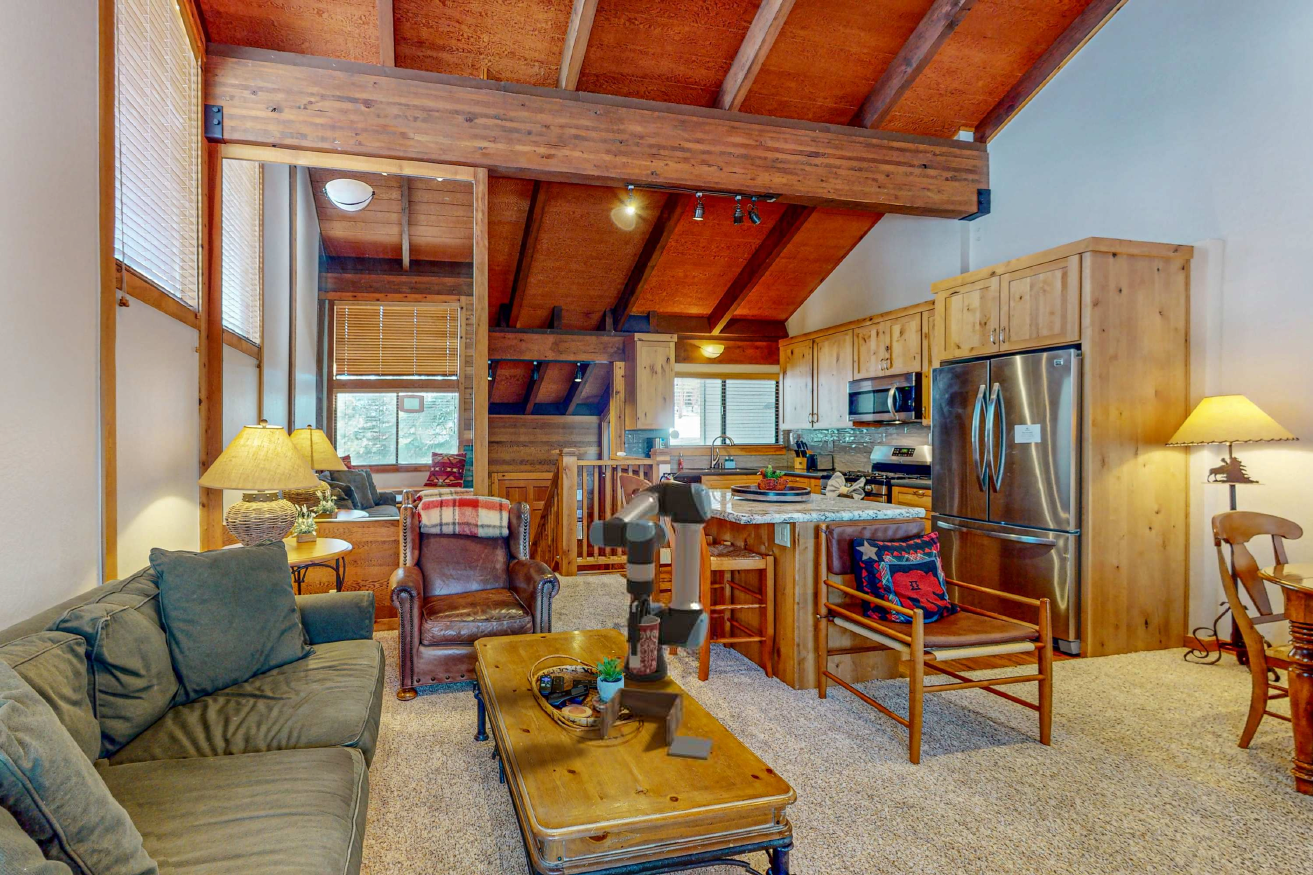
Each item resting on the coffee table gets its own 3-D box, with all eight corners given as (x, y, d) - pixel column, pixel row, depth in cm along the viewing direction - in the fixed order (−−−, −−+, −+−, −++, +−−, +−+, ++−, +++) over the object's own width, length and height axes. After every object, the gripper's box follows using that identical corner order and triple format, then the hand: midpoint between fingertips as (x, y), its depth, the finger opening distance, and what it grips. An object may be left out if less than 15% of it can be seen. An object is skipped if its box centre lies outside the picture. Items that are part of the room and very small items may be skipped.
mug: (665, 672, 182) (665, 621, 181) (633, 677, 178) (633, 625, 178) (646, 657, 193) (646, 610, 193) (616, 661, 189) (616, 613, 189)
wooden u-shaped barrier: (619, 711, 200) (619, 687, 200) (682, 717, 196) (683, 693, 196) (600, 737, 183) (600, 711, 183) (670, 745, 178) (670, 718, 178)
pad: (675, 737, 183) (675, 735, 183) (712, 741, 181) (712, 739, 181) (668, 754, 173) (668, 752, 173) (707, 759, 171) (707, 756, 171)
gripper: (637, 568, 196) (636, 646, 197) (615, 586, 174) (614, 673, 175) (662, 570, 195) (662, 648, 195) (643, 588, 173) (643, 676, 173)
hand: (639, 660), depth 185 cm, fingers closed on mug, 10 cm apart
